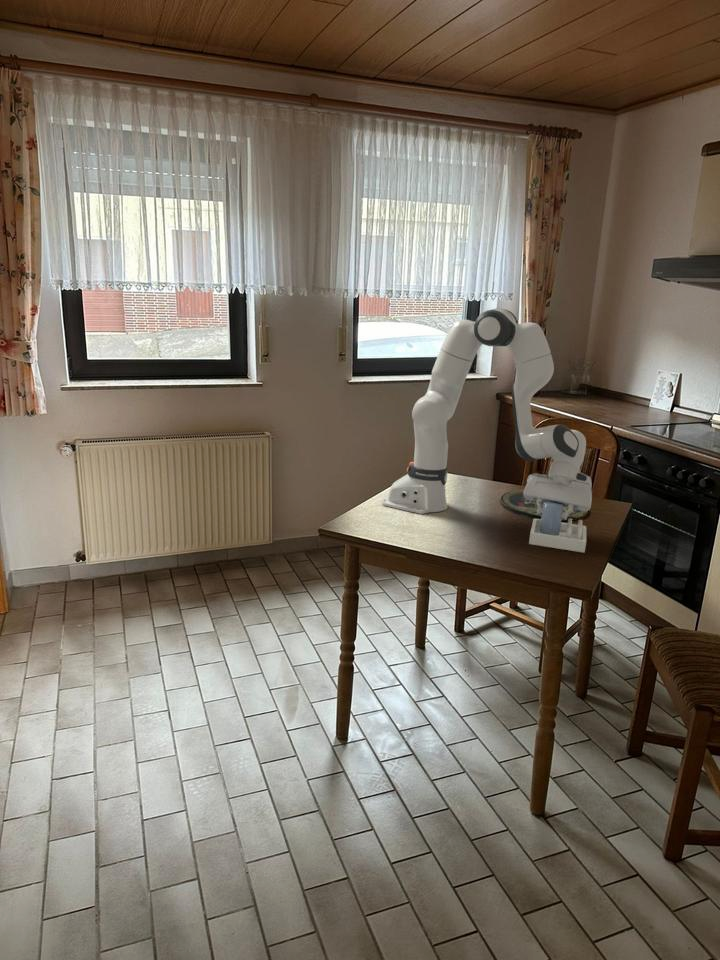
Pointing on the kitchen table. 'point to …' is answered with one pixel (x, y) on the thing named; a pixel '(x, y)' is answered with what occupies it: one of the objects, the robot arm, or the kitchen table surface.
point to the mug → (551, 518)
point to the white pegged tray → (560, 536)
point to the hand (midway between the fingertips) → (551, 516)
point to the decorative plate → (530, 506)
